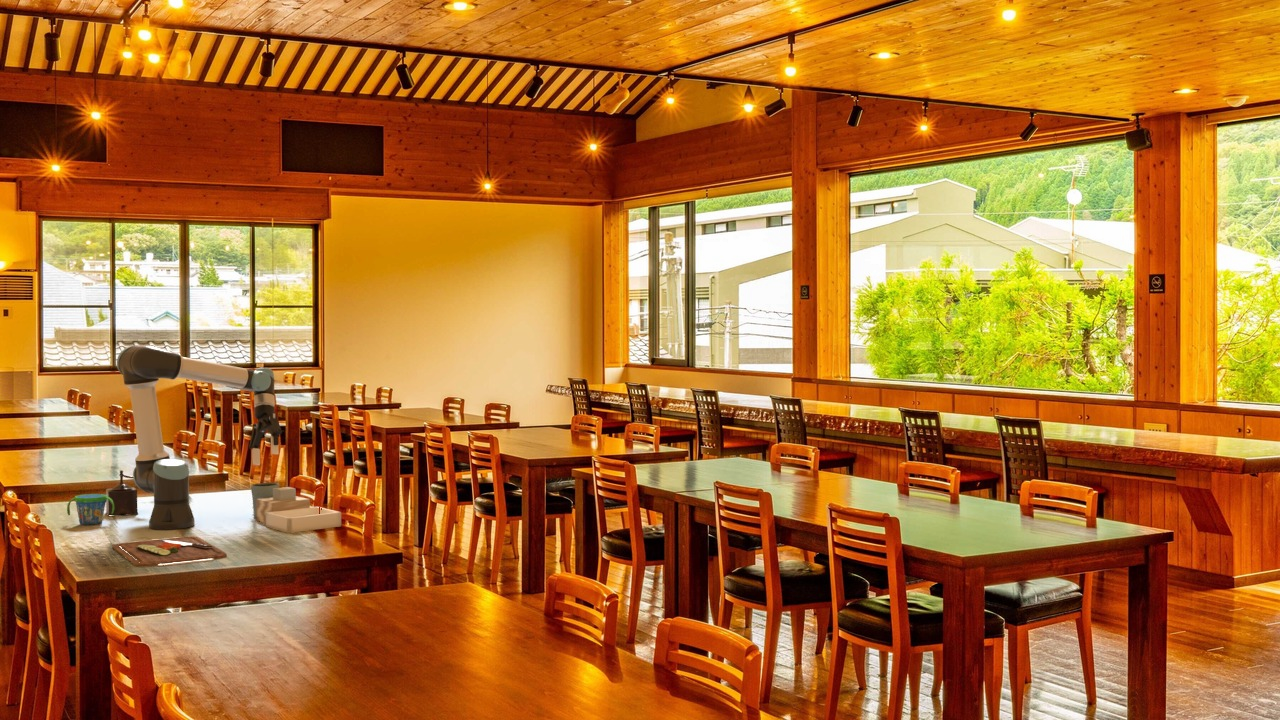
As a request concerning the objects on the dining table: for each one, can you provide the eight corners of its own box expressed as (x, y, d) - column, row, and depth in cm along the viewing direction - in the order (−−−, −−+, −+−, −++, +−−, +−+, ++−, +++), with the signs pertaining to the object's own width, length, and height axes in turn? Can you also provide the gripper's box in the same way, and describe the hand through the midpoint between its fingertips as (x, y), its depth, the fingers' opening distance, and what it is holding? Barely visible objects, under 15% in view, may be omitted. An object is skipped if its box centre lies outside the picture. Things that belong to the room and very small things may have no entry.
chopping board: (109, 547, 389) (109, 537, 389) (194, 538, 404) (194, 529, 404) (138, 570, 352) (138, 560, 352) (231, 560, 367) (231, 550, 367)
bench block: (256, 520, 437) (256, 499, 436) (292, 516, 446) (292, 495, 446) (273, 525, 426) (273, 503, 426) (309, 521, 436) (309, 499, 435)
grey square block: (273, 499, 435) (272, 488, 435) (288, 497, 439) (288, 486, 439) (280, 501, 431) (280, 490, 431) (295, 499, 435) (295, 488, 435)
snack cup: (118, 520, 438) (117, 493, 437) (109, 525, 427) (108, 497, 427) (73, 521, 435) (72, 494, 435) (63, 526, 425) (62, 498, 425)
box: (265, 526, 424) (265, 512, 424) (317, 520, 438) (317, 506, 438) (288, 533, 411) (288, 518, 411) (341, 526, 424) (341, 512, 424)
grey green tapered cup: (270, 518, 441) (270, 486, 441) (246, 517, 443) (245, 485, 443) (284, 514, 451) (284, 482, 451) (259, 513, 453) (259, 482, 453)
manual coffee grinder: (108, 516, 447) (107, 469, 446) (105, 512, 456) (104, 465, 456) (152, 513, 454) (152, 466, 454) (149, 509, 464) (148, 463, 463)
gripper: (290, 397, 455) (291, 450, 447) (256, 419, 470) (257, 470, 462) (272, 394, 449) (273, 447, 441) (239, 416, 465) (239, 468, 457)
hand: (265, 459), depth 452 cm, fingers open, 13 cm apart
